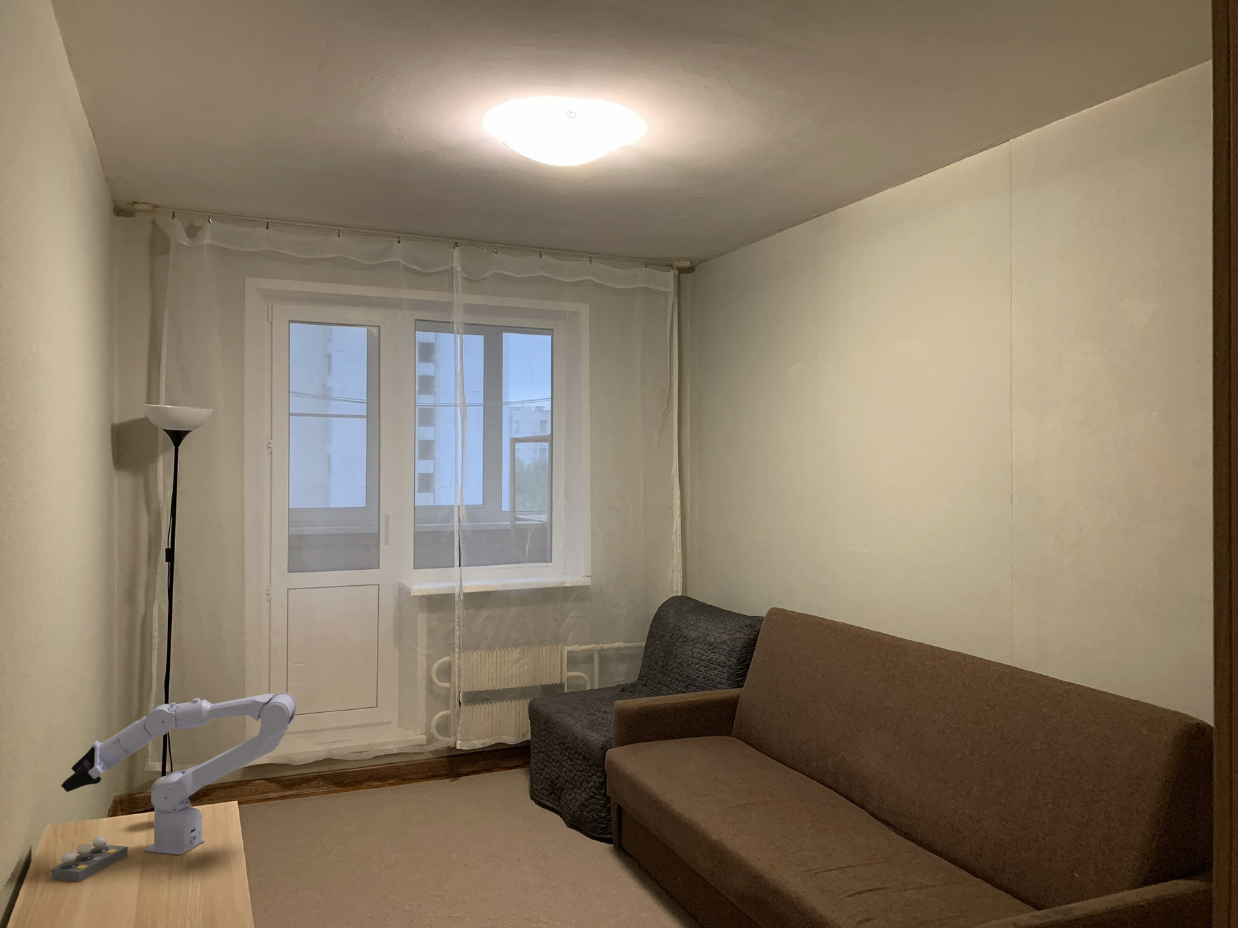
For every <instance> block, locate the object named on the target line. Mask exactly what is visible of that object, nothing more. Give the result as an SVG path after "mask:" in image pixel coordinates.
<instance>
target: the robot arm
mask: <svg viewBox="0 0 1238 928" xmlns="http://www.w3.org/2000/svg"><path fill="white" fill-rule="evenodd" d="M296 710H297V701H296V699H295V698H294V696H293V695H292V694H291V693H288V692H279V693H276V694H274V693H265V694H259V695H253V696H248V697H242V698H237V699H233V700H228V701H227V700H226V701H221V702H217V703H212V702H209V701H208V700H207V699H200V697H195V698H193V699H192V700H191V701H190V702H189V701H188V702H187V701H186V702H182V703H177V702H175V701H174V702H171V703H170V704H168V703H165V704H160V705H157V706H156V707H155V708H154V709H153V710H151V711H150V712H149V713H148V714H147V715H145V716H143V717H141V718H140V719H138V720H135V721H134V722H133V723H131V724H129V725H128V726H126V727H125V728H123V729H122V730H121V731H118V732H117V733H116V734H114V735H113V736H111V737H109V738H108V739H106V740H105V741H102V742H100V741H99V740H95V741H94V742H93V744H92V746H91V747H90V748H89V750H88V751H87V752H86V753H85V754H84V755H83V756H82V757H81V758H80V759H78V761H77V762H75V763H74V765H72V766H71V768H70V769H71V770H72V771H73V772H74V773H73V774H71V775H70V776H69V777H67V778H66V779H65V780H64V781H63V782H62V784H61V785H60V786H61V788H63V790H64V791H65V792H67V793H69V792H72V791H74V790H77V789H79V788H82V787H85V786H90V785H97V784H100V783H101V781H102V778H101V775H103V773H104V772H107V771H109V770H111V769H113V768H114V767H116V766H117V765H118V764H119V763H121V762H122V761H124V760H125V759H126V758H128V757H129V756H131V755H133V754H134V753H136V752H137V751H139V750H140V749H142V748H143V747H145V746H147V745H148V744H150V743H151V742H152V741H153V740H154V739H155V738H157V737H158V736H160V737H161V736H165V735H166V734H168V733H169V732H170V731H171V730H176V731H178V730H183V729H184V730H185V729H192V728H196V727H197V728H198V727H203V726H207V725H209V723H210V722H211V721H212V719H220V718H221V719H222V718H230V717H238V716H248V717H250V718H251V719H253V720H254V721H256V722H258V721H259V720H260V728H259V731H258V734H257V735H255V736H252V737H251V738H249V739H247V740H246V741H243V742H242V743H239V744H238V745H236V746H233V747H231V748H230V749H227V750H226V751H224V752H221V753H220V754H218V755H216V756H215V757H211V758H210V759H208V760H207V761H204V762H203V763H200V764H198V765H197V766H191V767H189V768H187V769H185V770H175V771H172V772H171V773H169V774H168V775H166V776H167V777H166V778H165V780H164V781H163V782H162V783H161V784H160V785H158V786H157V787H156V788H155V789H154V790H153V792H152V795H150V802H151V805H152V806H153V807H154V811H153V814H154V815H153V816H154V817H153V819H154V820H153V822H154V823H153V825H154V826H153V844H150V845H149V846H148V847H146V848H144V851H145V852H148V853H149V852H150V853H159V854H169V855H170V854H171V855H182V854H184V853H186V852H187V851H189V850H191V849H193V848H194V847H196V846H198V845H200V844H202V843H203V842H204V841H205V839H204V838H203V835H202V834H203V831H202V830H203V829H202V828H203V825H202V824H203V815H202V811H201V810H200V809H198V808H195V807H194V806H192V805H191V801H190V798H189V797H190V796H192V795H194V794H195V793H196V792H198V791H199V790H200V789H201V788H204V787H206V786H207V785H210V784H212V783H213V782H215V781H217V780H219V779H221V778H223V777H225V776H227V775H229V774H231V773H233V772H235V771H237V770H238V769H241V768H242V767H244V766H247V765H248V764H250V763H252V762H254V761H255V760H258V759H260V758H262V757H264V756H265V755H268V754H270V753H271V752H273V751H275V750H276V749H277V747H278V745H280V743H281V741H282V740H283V738H284V736H285V734H286V732H287V730H288V729H289V727H290V725H291V724H292V722H293V721H294V718H295V714H296Z"/></svg>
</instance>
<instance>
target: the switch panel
mask: <svg viewBox="0 0 1238 928" xmlns="http://www.w3.org/2000/svg"><path fill="white" fill-rule="evenodd" d="M128 848H129V847H128V846H124V845H115V844H107V843H106V844H105V845H103V846H100V847H92V851H91V852H90V853H87V854H78V855H77V859H76V860H74V861H71V862H62V863H61V864H58V865H56V866H55V867H52V868H51V869H50V871H51V872H50V874H51V875H50V879H51V878H53V879H52V880H61V881H68V882H76V883H77V882H78V883H80V882H81V881H83V880H86V879H87V878H89V877H91V876H93V875H95V874H96V873H98V872H100V871H101V870H104V869H106V868H108V867H110V866H111V865H113V864H115V863H117V862H118V861H121V860H123V859H124V858H126V857H128V855H129V854H128Z"/></svg>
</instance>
